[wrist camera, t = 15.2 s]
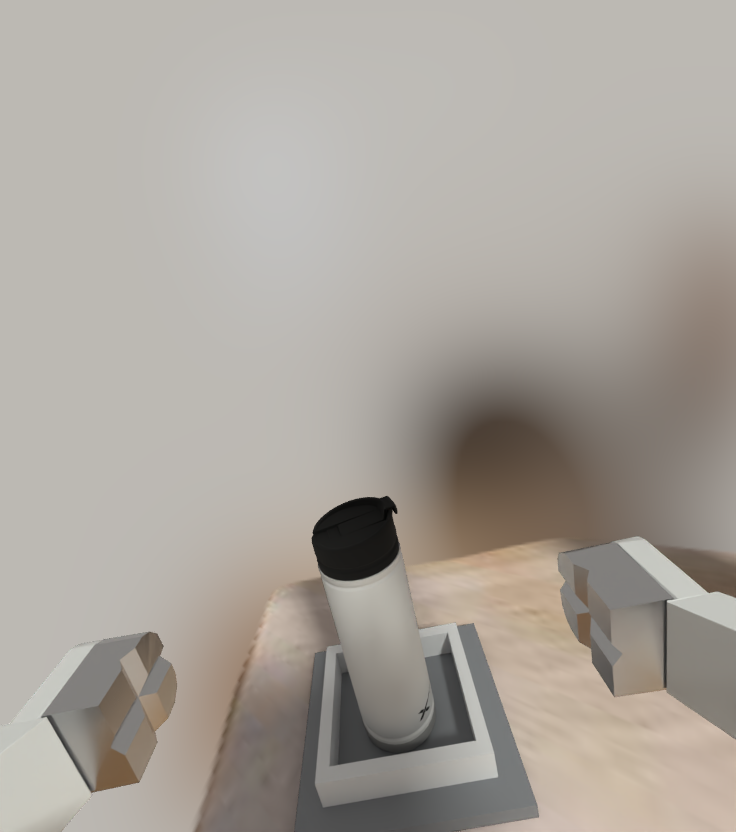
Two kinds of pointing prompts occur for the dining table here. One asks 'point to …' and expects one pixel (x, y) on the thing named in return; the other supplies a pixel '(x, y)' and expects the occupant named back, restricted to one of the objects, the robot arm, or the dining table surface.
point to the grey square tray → (413, 751)
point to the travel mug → (376, 621)
